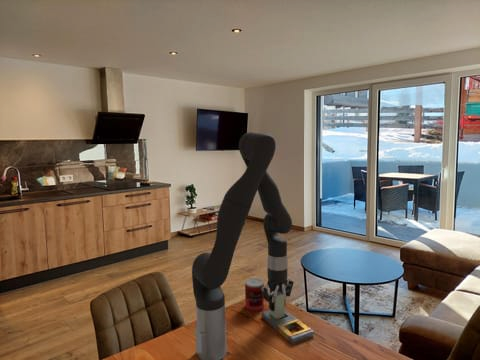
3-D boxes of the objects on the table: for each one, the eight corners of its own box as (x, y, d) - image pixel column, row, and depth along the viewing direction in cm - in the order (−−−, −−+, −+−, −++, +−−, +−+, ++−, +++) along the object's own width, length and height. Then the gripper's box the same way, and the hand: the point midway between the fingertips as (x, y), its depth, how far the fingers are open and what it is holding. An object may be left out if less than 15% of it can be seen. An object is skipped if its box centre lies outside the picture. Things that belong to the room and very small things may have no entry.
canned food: (255, 300, 146) (254, 276, 145) (268, 307, 140) (268, 282, 138) (241, 306, 141) (240, 281, 140) (254, 314, 135) (253, 287, 134)
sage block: (275, 319, 128) (275, 296, 126) (270, 314, 131) (270, 292, 130) (284, 316, 130) (284, 294, 128) (278, 311, 133) (278, 289, 132)
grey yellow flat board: (292, 344, 115) (292, 338, 115) (261, 317, 133) (261, 311, 133) (313, 336, 119) (313, 330, 119) (281, 311, 137) (280, 305, 137)
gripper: (266, 273, 121) (266, 318, 123) (298, 265, 128) (298, 308, 130) (256, 266, 128) (256, 309, 130) (287, 259, 134) (286, 300, 137)
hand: (277, 308), depth 130 cm, fingers closed on sage block, 4 cm apart
